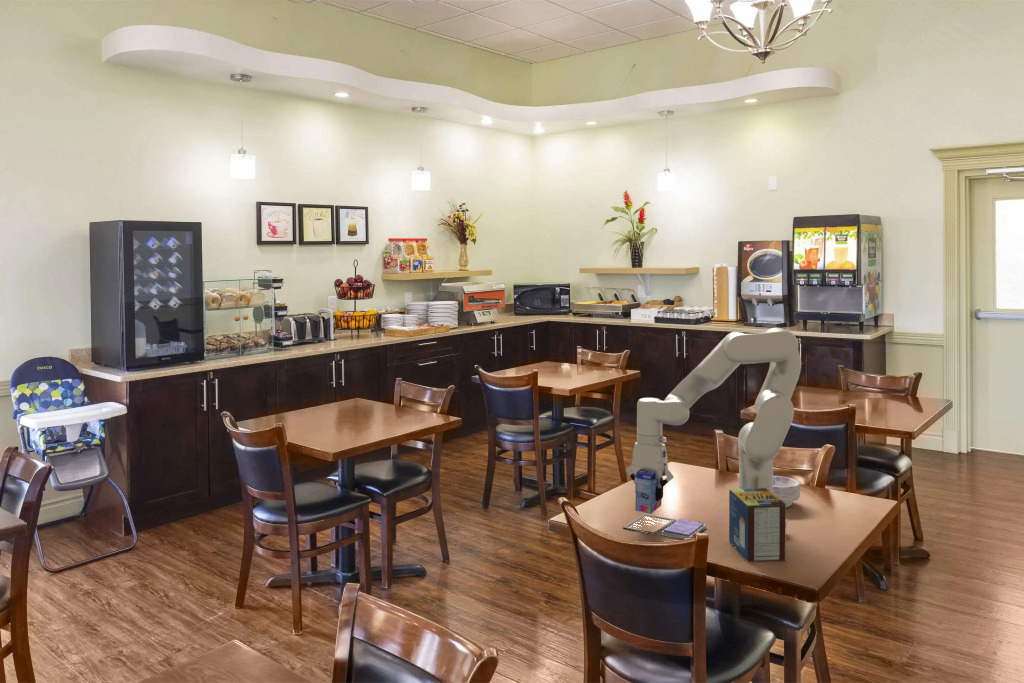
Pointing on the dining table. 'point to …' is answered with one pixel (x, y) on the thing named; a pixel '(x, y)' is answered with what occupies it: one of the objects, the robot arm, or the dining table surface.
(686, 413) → the robot arm
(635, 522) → the marked card
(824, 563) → the dining table surface
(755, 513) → the protein box
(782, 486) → the paper bowls
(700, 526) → the ink pad
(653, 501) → the ink cartridge box
